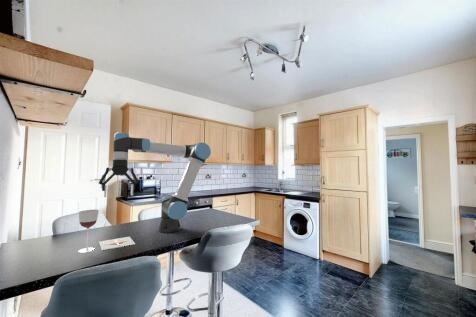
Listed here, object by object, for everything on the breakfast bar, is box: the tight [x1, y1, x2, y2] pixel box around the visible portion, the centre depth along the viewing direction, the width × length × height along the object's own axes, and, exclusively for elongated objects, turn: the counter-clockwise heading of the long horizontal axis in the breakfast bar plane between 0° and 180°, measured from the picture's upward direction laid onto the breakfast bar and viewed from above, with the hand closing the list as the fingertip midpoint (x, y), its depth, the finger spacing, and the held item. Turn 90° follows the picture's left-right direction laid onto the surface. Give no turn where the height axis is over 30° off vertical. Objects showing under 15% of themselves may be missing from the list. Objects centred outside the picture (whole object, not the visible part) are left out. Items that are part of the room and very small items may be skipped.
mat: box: [98, 236, 136, 252], centre depth 121 cm, size 16×16×1 cm
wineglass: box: [77, 209, 99, 254], centre depth 111 cm, size 8×9×20 cm
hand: (118, 196), depth 122 cm, fingers open, 13 cm apart
